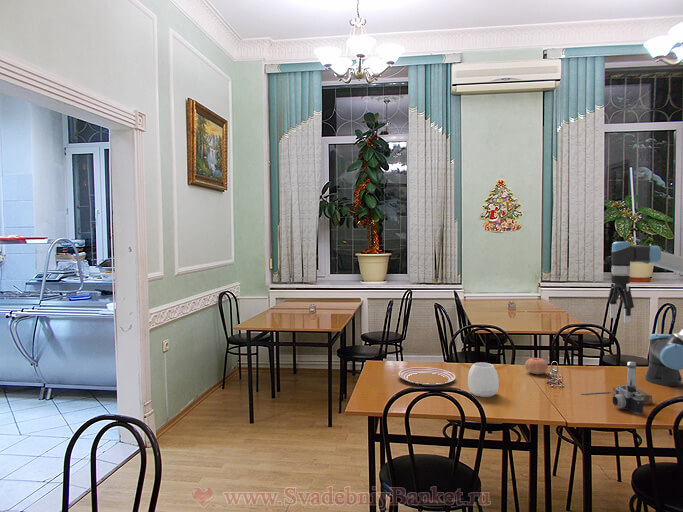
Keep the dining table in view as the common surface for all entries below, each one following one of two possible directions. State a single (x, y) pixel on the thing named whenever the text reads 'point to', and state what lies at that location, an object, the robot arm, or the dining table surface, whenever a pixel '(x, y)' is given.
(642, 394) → the brown square tray
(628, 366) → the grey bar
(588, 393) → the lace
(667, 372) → the robot arm
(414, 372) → the dinner plate
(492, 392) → the cup
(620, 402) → the camera
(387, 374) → the dining table surface
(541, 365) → the tomato
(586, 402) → the dining table surface
